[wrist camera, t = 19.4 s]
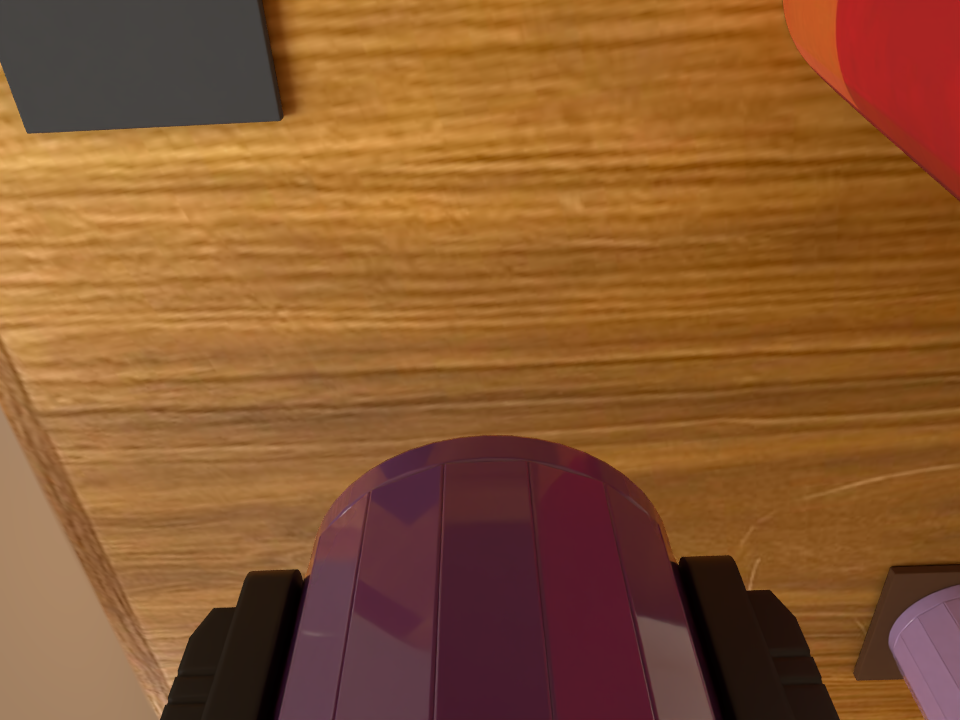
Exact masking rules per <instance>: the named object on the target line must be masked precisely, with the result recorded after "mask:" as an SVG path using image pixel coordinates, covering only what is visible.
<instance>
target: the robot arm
mask: <svg viewBox="0 0 960 720" xmlns="http://www.w3.org/2000/svg"><path fill="white" fill-rule="evenodd" d="M678 566H679V568H680V571H681V574H682V577H683V581H684V584H685V587H686V591H687V594H688V597H689V601H690V604H691V607H692V611H693V614H694V618H695V621H696V624H697V628H698V631H699V634H700V638H701V641H702V644H703V648H704V651H705V654H706V658H707V661H708V664H709V668H710V671H711V674H712V678H713V681H714V684H715V688H716V691H717V695H718V698H719V701H720V705H721V708H722V711H723V715H724V718H725V720H840V719H839V716H838V714H837V712H836V710H835V707H834V705H833V703H832V700H831V698H830V696H829V693H828V691H827V689H826V686H825V684H822V680H821V678H822V677H821V675H820V673H819V670H818V668H817V666H816V663H815V661H814V659H813V657H811V656H810V649H809V647H808V645H807V643H806V640H805V638H804V636H803V633H802V631H801V629H800V626H799V624H798V622H797V619H796V617H795V616H794V615H793V614H792V613H791V612H790V611H789V610H788V609H787V608H786V607H785V606H784V605H783V604H782V602H781V601H780V600H779V599H778V598H777V597H776V596H775V595H774V594H773V593H772V592H771V591H770V590H753V591H746V589H745V586H744V583H743V581H742V578H741V575H740V573H739V570H738V568H737V565H736V563H735V561H734V559H733V558H732V557H731V556H729V555H724V556H695V557H681V559H680V561H679V565H678ZM302 583H303V579H302V576H301V573H300V571H299V570H297V569H296V570H269V571H250V572H249V573H248V574H247V576H246V578H245V580H244V583H243V586H242V590H241V593H240V596H239V599H238V602H237V606H236V607H232V608H213V609H212V611H211V612H210V613H209V614H208V616H207V617H206V618H205V619H204V620H203V622H202V623H201V624H200V625H199V627H198V628H197V629H196V630H195V631H194V633H193V634H192V635H191V636H190V638H189V641H188V643H187V646H186V649H185V652H184V654H183V657H182V660H181V663H180V666H179V668H178V676H177V677H175V679H174V682H173V685H172V688H171V691H170V693H169V696H168V704H167V705H165V707H164V710H163V713H162V716H161V718H160V720H271V716H272V711H273V707H274V703H275V699H276V694H277V690H278V686H279V681H280V677H281V673H282V668H283V664H284V660H285V656H286V651H287V647H288V643H289V638H290V634H291V630H292V625H293V621H294V617H295V613H296V608H297V604H298V600H299V595H300V591H301V587H302Z"/></svg>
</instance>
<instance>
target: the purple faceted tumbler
mask: <svg viewBox="0 0 960 720" xmlns="http://www.w3.org/2000/svg"><path fill="white" fill-rule="evenodd" d="M271 720H725V718H724V715H723V711H722V708H721V705H720V701H719V698H718V695H717V691H716V688H715V684H714V681H713V678H712V674H711V671H710V668H709V664H708V661H707V658H706V654H705V651H704V648H703V644H702V641H701V638H700V634H699V631H698V628H697V624H696V621H695V618H694V614H693V611H692V607H691V604H690V601H689V597H688V594H687V591H686V587H685V584H684V581H683V577H682V574H681V571H680V568H679V566H678V564H677V562H676V559H675V557H674V555H673V552H672V549H671V545H670V542H669V539H668V535H667V533H666V530H665V527H664V524H663V521H662V519H661V517H660V516H659V514H658V512H657V510H656V509H655V507H654V505H653V504H652V503H651V501H650V500H649V499H648V498H647V497H646V495H645V494H644V493H643V492H642V490H641V489H639V488H638V487H637V486H636V485H635V484H634V483H633V482H632V481H631V480H629V479H628V478H627V477H626V476H625V475H624V474H622V473H621V472H619V471H618V470H616V469H615V468H613V467H612V466H610V465H609V464H607V463H606V462H604V461H602V460H600V459H598V458H596V457H594V456H592V455H590V454H587V453H585V452H583V451H580V450H577V449H574V448H571V447H569V446H566V445H563V444H559V443H555V442H550V441H546V440H542V439H537V438H529V437H521V436H512V435H480V436H468V437H458V438H453V439H448V440H443V441H438V442H433V443H430V444H426V445H423V446H420V447H417V448H414V449H410V450H408V451H406V452H403V453H401V454H399V455H396V456H394V457H392V458H390V459H387V460H386V461H384V462H382V463H381V464H379V465H377V466H376V467H374V468H372V469H371V470H369V471H367V472H366V473H365V474H364V475H362V476H361V477H360V478H358V479H357V480H356V481H355V482H353V483H352V484H351V485H350V486H349V487H348V488H347V489H346V490H345V491H344V492H343V493H342V494H341V495H340V496H339V497H338V498H337V499H336V501H335V502H334V503H333V505H332V506H331V508H330V509H329V511H328V512H327V513H326V515H325V516H324V518H323V520H322V523H321V525H320V527H319V529H318V531H317V534H316V538H315V542H314V546H313V550H312V554H311V558H310V563H309V566H308V569H307V572H306V575H305V577H304V580H303V583H302V587H301V591H300V595H299V600H298V604H297V608H296V613H295V617H294V621H293V625H292V630H291V634H290V638H289V643H288V647H287V651H286V656H285V660H284V664H283V668H282V673H281V677H280V681H279V686H278V690H277V694H276V699H275V703H274V707H273V711H272V716H271Z"/></svg>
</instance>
